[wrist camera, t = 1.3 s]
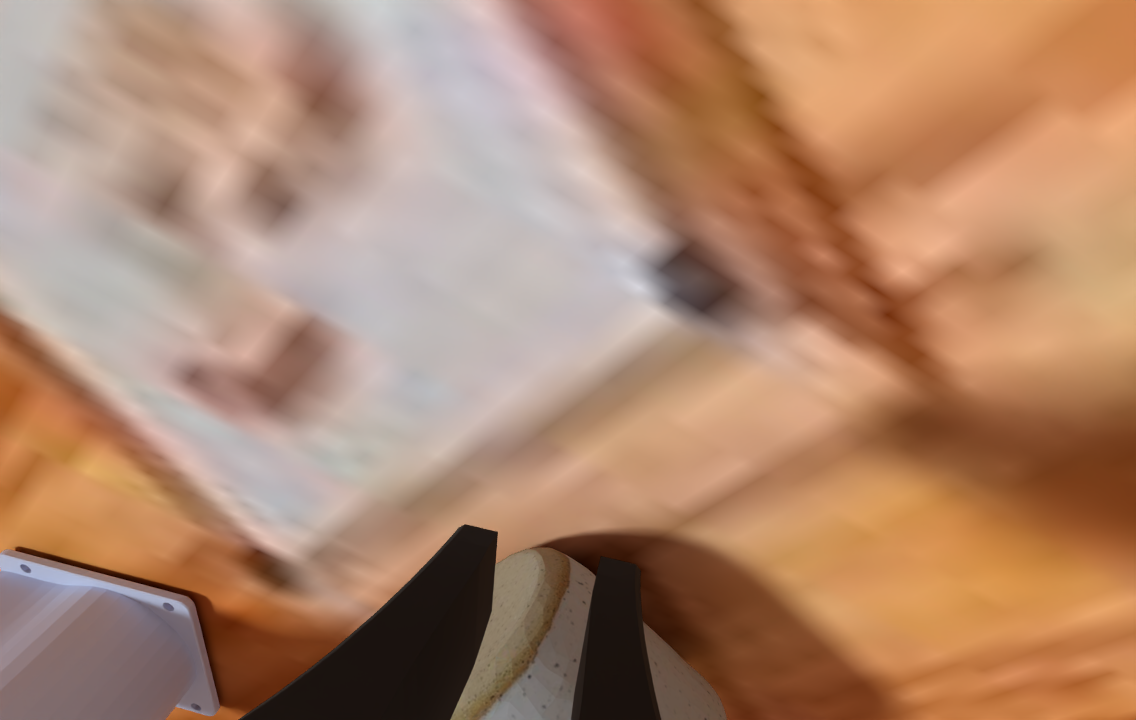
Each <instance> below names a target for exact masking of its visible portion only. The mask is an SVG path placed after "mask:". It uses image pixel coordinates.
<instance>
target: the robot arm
mask: <svg viewBox="0 0 1136 720" xmlns="http://www.w3.org/2000/svg"><path fill="white" fill-rule="evenodd" d="M497 536H498V532H496V531H491V530H487V529H483V528H479V527H474V526H470V525H466V524H465V525H463V526H461V527H459V528H458V529H457V530H456V532H455V533H454V534H453V535H452V536H451V537H450V538H449V540H448V541H447V542H446V543H445V544H444V545H443V546H442V547H441V548H440V550H439V551H438V552H437V553H436V554H435V555H434V556H433V557H432V558H431V559H430V560H429V561H428V562H427V563H426V564H425V565H424V566H423V567H422V568H421V570H420V571H419V572H418V573H417V574H416V575H415V576H414V577H413V578H412V579H411V580H410V581H409V582H408V583H407V584H405V585H404V586H403V587H402V588H401V589H400V590H399V591H398V592H397V593H396V594H395V595H394V596H393V597H392V598H391V599H390V600H389V601H388V602H387V603H386V604H385V605H384V606H383V607H382V608H380V609H379V610H378V611H377V612H376V613H375V614H374V615H373V616H372V617H371V618H369V619H368V620H367V621H366V622H365V623H364V624H362V625H361V626H360V627H359V628H358V629H357V630H355V631H354V632H353V633H352V634H351V635H350V636H349V637H347V638H346V639H345V640H344V641H343V642H342V643H340V644H339V645H338V646H337V647H336V648H335V649H333V650H332V651H331V652H330V653H328V654H327V655H326V656H325V657H324V658H322V659H321V660H320V661H319V662H317V663H316V664H315V665H313V666H312V667H311V668H310V669H308V670H307V671H306V672H304V673H303V674H302V675H300V676H299V677H298V678H296V679H295V680H294V681H292V682H291V683H290V684H288V685H287V686H286V687H284V688H283V689H282V690H280V691H279V692H278V693H276V694H275V695H273V696H272V697H270V698H269V699H268V700H266V701H265V702H263V703H262V704H260V705H259V706H257V707H256V708H255V709H253V710H252V711H250V712H249V713H247V714H246V715H244V716H243V717H242V718H240V719H239V720H450V719H451V717H452V715H453V713H454V710H455V708H456V706H457V704H458V701H459V699H460V697H461V695H462V692H463V690H464V688H465V686H466V683H467V681H468V679H469V677H470V674H471V672H472V670H473V667H474V665H475V662H476V659H477V656H478V653H479V650H480V647H481V644H482V641H483V637H484V634H485V631H486V628H487V625H488V622H489V619H490V616H491V612H492V603H493V590H494V576H495V563H496V549H497ZM0 569H1V571H0V720H165V719H166V718H167V717H168V716H169V714H170V713H171V712H172V711H173V709H174V708H175V707H179V708H183V709H186V710H190V711H193V712H197V713H200V714H203V715H207V716H213V715H215V714H216V713H217V711H218V710H219V708H220V704H219V700H218V696H217V692H216V688H215V684H214V680H213V676H212V672H211V668H210V664H209V660H208V656H207V652H206V648H205V644H204V639H203V635H202V631H201V627H200V623H199V619H198V615H197V611H196V607H195V604H194V602H193V601H192V600H191V599H190V598H189V597H187V596H184V595H181V594H177V593H173V592H169V591H166V590H162V589H158V588H154V587H151V586H147V585H143V584H139V583H135V582H132V581H128V580H124V579H120V578H116V577H113V576H109V575H105V574H101V573H98V572H94V571H90V570H86V569H82V568H79V567H75V566H71V565H67V564H63V563H60V562H56V561H52V560H48V559H45V558H41V557H37V556H33V555H29V554H26V553H22V552H18V551H14V550H9V549H6V550H4V551H2V552H1V553H0ZM640 576H641V570H640V569H639V568H638V567H637V565H636V564H632V563H628V562H623V561H619V560H615V559H611V558H606V557H602V556H601V558H600V562H599V566H598V570H597V574H596V579H595V583H594V587H593V591H592V597H591V602H590V608H589V614H588V619H587V625H586V630H585V636H584V642H583V647H582V653H581V658H580V664H579V669H578V675H577V681H576V686H575V692H574V699H573V707H572V715H571V720H661V716H660V712H659V707H658V703H657V699H656V694H655V690H654V685H653V680H652V674H651V669H650V664H649V659H648V654H647V648H646V641H645V635H644V627H643V619H642V609H641V594H640Z"/></svg>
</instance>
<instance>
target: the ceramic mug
mask: <svg viewBox="0 0 1136 720" xmlns="http://www.w3.org/2000/svg"><path fill="white" fill-rule="evenodd" d="M595 579H596V576H595V575H594V574H593V573H592V572H591V571H589V570H588V569H587V568H586V567H584V566H583V565H581V564H580V563H578V562H577V561H575V560H574V559H572V558H570V557H569V556H567V555H566V554H564V553H561V552H559V551H557V550H555V549H552V548H530V549H525V550H523V551H520V552H517V553H515V554H512V555H510V556H508V557H507V558H505V559H504V560H502V561H500V562H499V563H497V564H496V565H495V576H494V590H493V603H492V612H491V616H490V619H489V622H488V625H487V628H486V631H485V634H484V637H483V641H482V644H481V647H480V650H479V653H478V656H477V659H476V662H475V665H474V667H473V670H472V672H471V674H470V677H469V679H468V681H467V683H466V686H465V688H464V690H463V692H462V695H461V697H460V699H459V701H458V704H457V706H456V708H455V710H454V713H453V715H452V717H451V719H450V720H571V715H572V707H573V699H574V692H575V686H576V681H577V675H578V669H579V664H580V658H581V653H582V647H583V642H584V636H585V630H586V625H587V619H588V614H589V608H590V602H591V597H592V591H593V587H594V583H595ZM643 627H644V635H645V641H646V648H647V654H648V659H649V664H650V669H651V674H652V680H653V685H654V690H655V694H656V699H657V703H658V707H659V712H660V716H661V720H727V717H726V713H725V710H724V707H723V705H722V702H721V700H720V698H719V696H718V694H717V693H716V692H715V690H714V689H713V688H712V686H711V685H710V684H709V683H708V682H707V681H706V680H705V679H704V677H703V676H701V675H700V674H699V673H698V672H697V671H696V670H695V669H693V668H692V667H691V666H690V665H689V664H688V663H686V662H685V661H684V660H683V659H682V658H681V657H680V656H679V655H678V654H677V653H676V652H675V651H674V650H673V649H672V648H671V647H670V646H669V645H668V644H667V643H666V642H665V641H664V640H663V639H662V638H661V637H660V636H658V635H657V634H656V633H655V632H654V631H653V630H652V629H651V628H650V627H649V626H648V625H647V624H645V623H644V622H643Z"/></svg>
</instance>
